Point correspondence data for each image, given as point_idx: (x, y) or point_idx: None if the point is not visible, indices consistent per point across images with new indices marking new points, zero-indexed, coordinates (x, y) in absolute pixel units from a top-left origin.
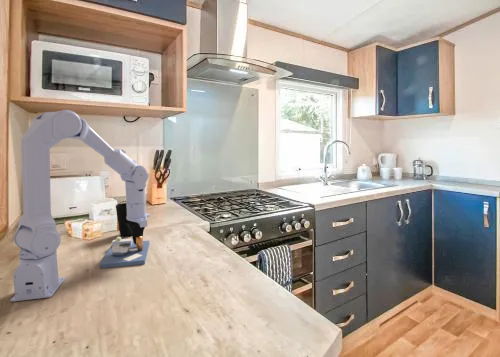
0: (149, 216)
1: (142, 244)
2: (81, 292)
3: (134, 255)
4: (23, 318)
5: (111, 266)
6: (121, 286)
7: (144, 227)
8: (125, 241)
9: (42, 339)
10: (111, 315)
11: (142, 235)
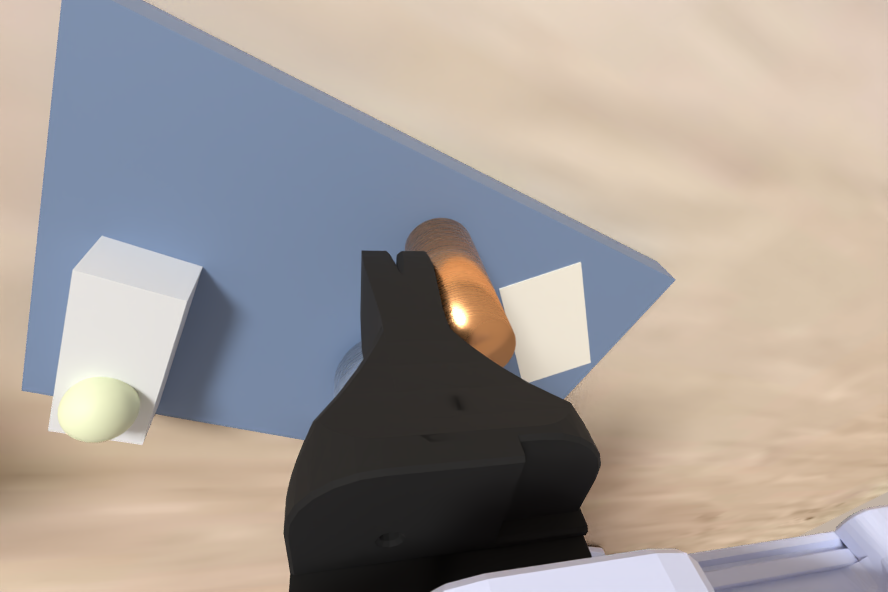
0: (696, 566)
1: (478, 259)
2: (653, 494)
3: (526, 312)
4: None
5: None
6: (757, 403)
7: (512, 380)
8: (172, 348)
9: (777, 532)
10: (869, 442)
11: (440, 301)
